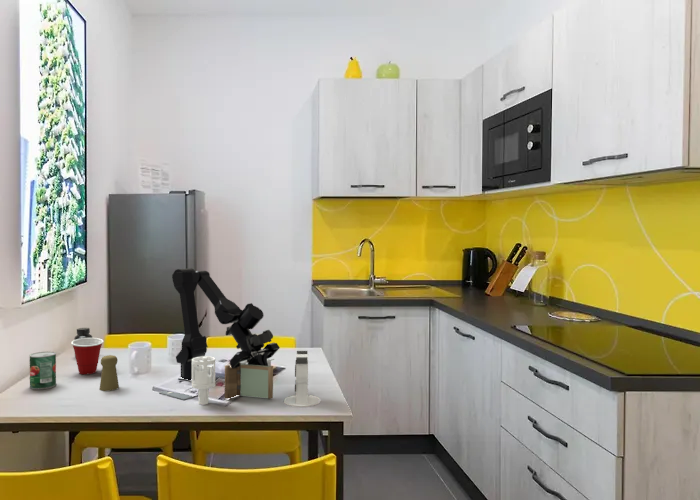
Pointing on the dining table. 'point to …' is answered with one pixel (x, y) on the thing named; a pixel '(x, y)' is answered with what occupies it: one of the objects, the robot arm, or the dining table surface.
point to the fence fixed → (232, 381)
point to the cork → (109, 373)
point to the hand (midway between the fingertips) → (268, 376)
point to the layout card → (176, 395)
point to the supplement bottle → (83, 334)
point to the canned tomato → (42, 370)
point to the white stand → (301, 384)
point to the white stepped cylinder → (203, 377)
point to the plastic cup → (87, 354)
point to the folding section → (257, 381)
